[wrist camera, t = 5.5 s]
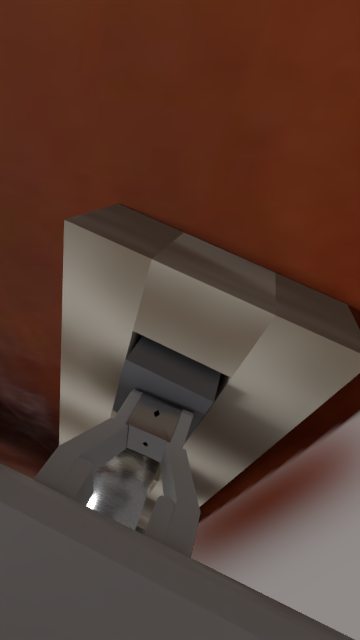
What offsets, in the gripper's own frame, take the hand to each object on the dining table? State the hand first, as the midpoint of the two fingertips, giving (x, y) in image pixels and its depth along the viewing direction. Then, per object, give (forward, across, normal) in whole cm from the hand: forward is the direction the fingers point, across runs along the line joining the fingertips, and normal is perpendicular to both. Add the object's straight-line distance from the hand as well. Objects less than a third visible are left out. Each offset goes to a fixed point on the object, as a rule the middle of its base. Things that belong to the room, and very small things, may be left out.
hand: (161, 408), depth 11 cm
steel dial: (+2, +1, +8) cm, 8 cm away
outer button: (+5, 0, 0) cm, 5 cm away
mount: (+5, +1, +8) cm, 10 cm away
